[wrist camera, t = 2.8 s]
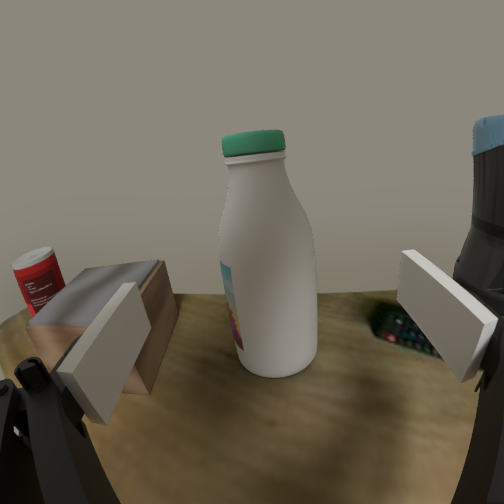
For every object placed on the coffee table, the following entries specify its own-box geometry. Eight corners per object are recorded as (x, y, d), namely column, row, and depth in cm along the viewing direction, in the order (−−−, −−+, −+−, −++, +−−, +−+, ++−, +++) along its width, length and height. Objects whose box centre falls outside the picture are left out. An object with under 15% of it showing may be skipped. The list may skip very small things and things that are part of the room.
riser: (179, 313, 36) (164, 256, 33) (149, 394, 22) (116, 325, 20) (103, 317, 36) (85, 266, 33) (57, 384, 23) (23, 324, 20)
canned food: (57, 305, 41) (36, 247, 37) (84, 309, 39) (62, 244, 35) (29, 328, 34) (3, 266, 30) (55, 335, 32) (26, 265, 28)
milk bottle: (327, 337, 28) (318, 127, 21) (298, 390, 22) (277, 124, 15) (262, 324, 32) (236, 137, 25) (223, 367, 26) (177, 143, 18)
